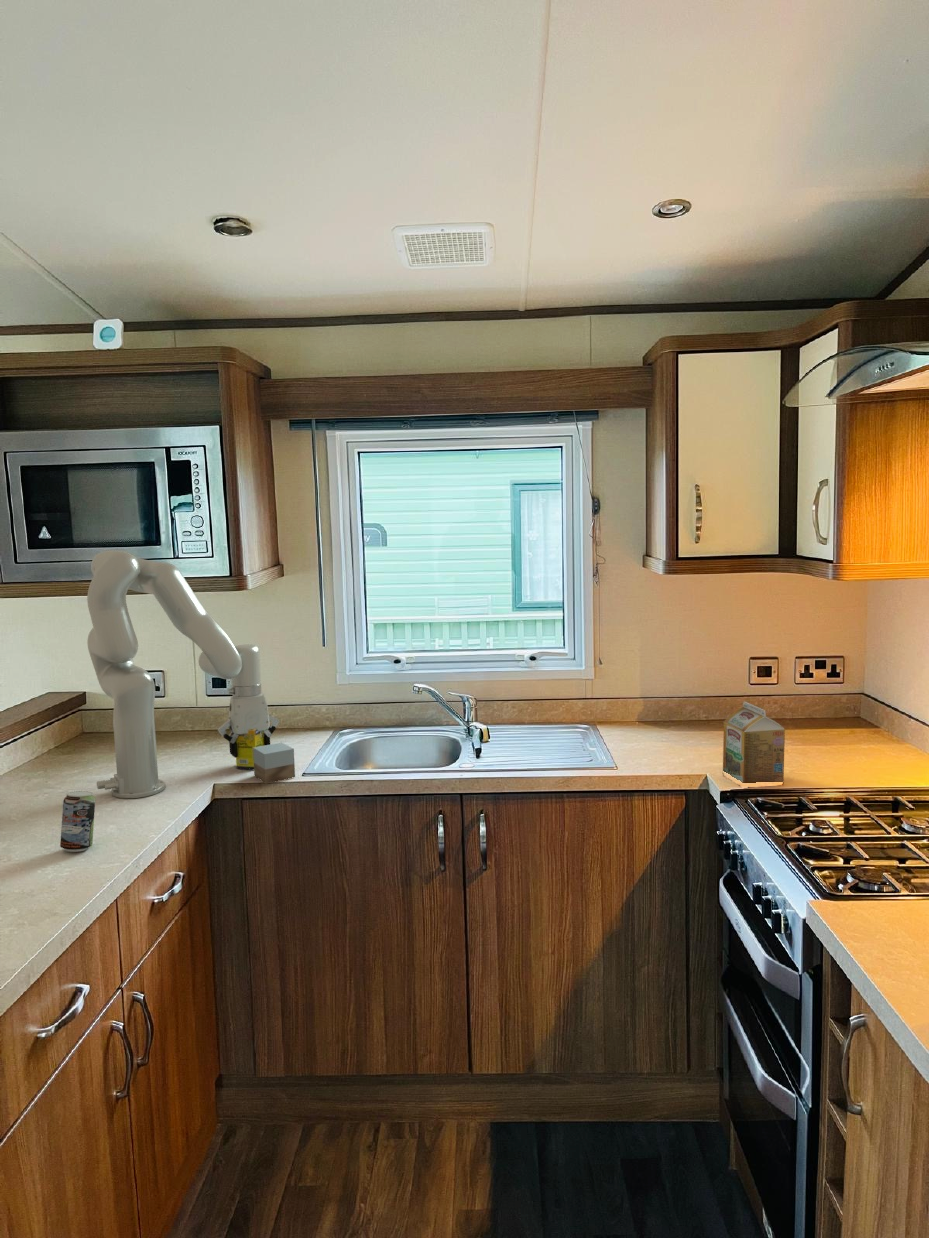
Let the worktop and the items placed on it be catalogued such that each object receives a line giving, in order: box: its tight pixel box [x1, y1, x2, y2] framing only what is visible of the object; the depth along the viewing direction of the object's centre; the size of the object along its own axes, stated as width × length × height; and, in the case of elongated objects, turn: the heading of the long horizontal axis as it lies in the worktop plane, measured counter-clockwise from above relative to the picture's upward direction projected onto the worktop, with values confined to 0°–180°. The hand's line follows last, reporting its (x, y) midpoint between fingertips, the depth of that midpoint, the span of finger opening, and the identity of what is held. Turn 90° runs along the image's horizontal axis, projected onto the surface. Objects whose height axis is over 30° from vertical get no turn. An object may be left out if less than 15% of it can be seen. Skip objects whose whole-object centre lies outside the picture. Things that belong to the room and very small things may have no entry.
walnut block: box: [253, 763, 296, 784], centre depth 221 cm, size 8×8×4 cm
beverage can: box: [59, 790, 96, 853], centre depth 174 cm, size 6×7×12 cm
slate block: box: [253, 742, 295, 769], centre depth 221 cm, size 8×8×4 cm
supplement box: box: [235, 729, 264, 770], centre depth 230 cm, size 6×6×11 cm
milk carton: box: [722, 701, 786, 783], centre depth 210 cm, size 10×11×19 cm
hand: (250, 753), depth 231 cm, fingers closed on supplement box, 8 cm apart
